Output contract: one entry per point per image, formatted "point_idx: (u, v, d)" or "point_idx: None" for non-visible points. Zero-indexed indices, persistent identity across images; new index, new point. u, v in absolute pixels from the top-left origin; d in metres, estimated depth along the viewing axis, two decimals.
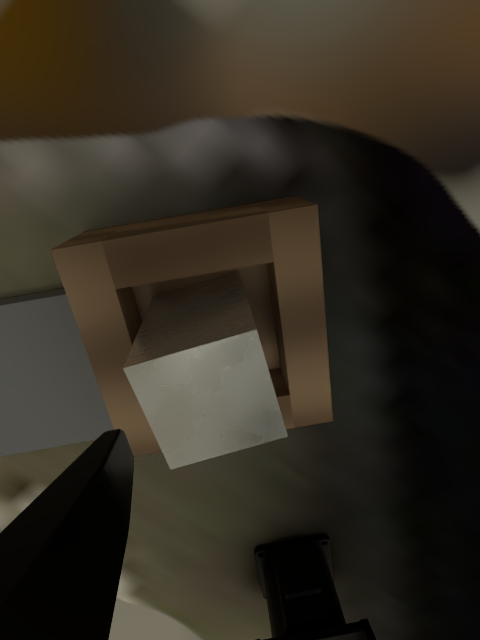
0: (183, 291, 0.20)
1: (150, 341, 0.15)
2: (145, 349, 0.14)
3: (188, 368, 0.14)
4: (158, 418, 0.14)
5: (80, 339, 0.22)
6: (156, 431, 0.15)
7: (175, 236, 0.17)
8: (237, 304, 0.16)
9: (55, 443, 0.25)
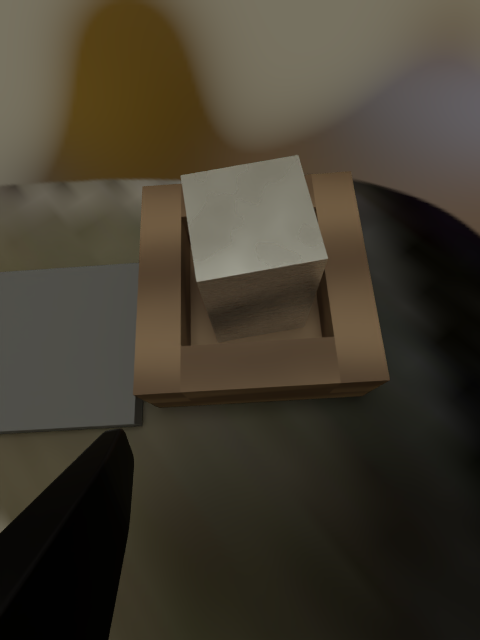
0: None
1: None
2: None
3: (235, 180, 0.15)
4: (198, 222, 0.15)
5: (129, 304, 0.23)
6: (193, 235, 0.15)
7: None
8: None
9: (54, 423, 0.21)
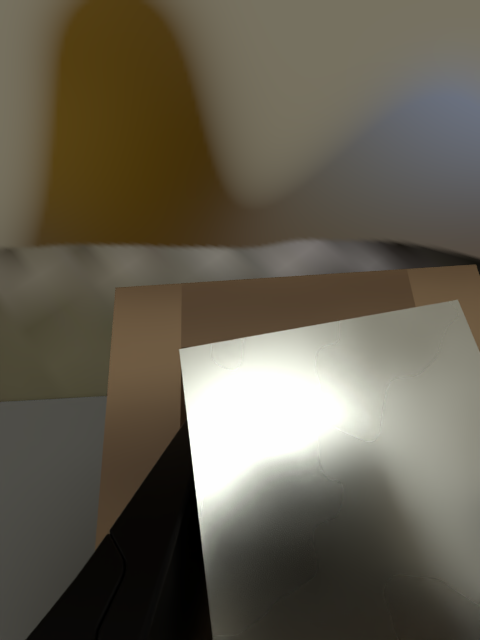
0: None
1: None
2: None
3: (314, 368, 0.06)
4: (224, 497, 0.06)
5: (95, 472, 0.14)
6: (211, 540, 0.05)
7: (279, 286, 0.12)
8: None
9: None
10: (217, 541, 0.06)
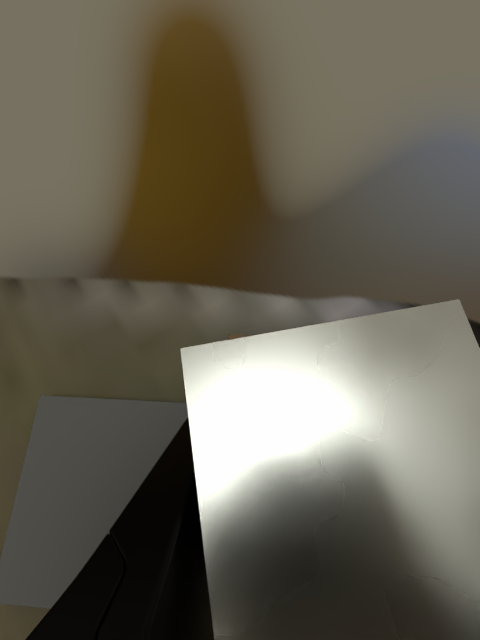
0: None
1: None
2: None
3: (315, 367, 0.06)
4: (225, 496, 0.06)
5: None
6: (212, 539, 0.05)
7: None
8: None
9: None
10: (218, 540, 0.06)
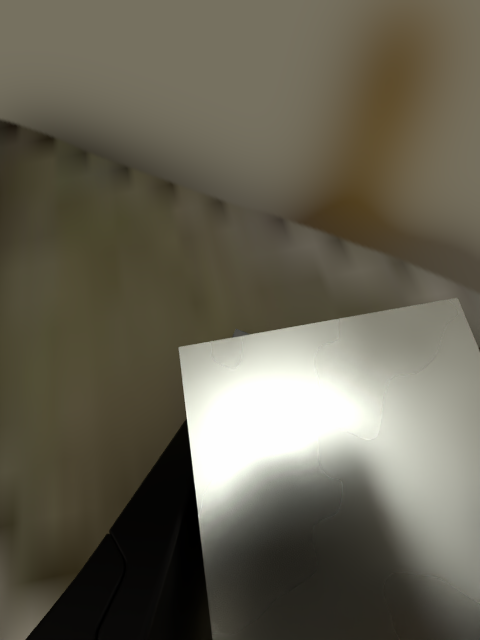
0: None
1: None
2: None
3: (313, 366, 0.06)
4: (224, 495, 0.06)
5: None
6: (210, 538, 0.05)
7: None
8: None
9: None
10: (216, 539, 0.06)
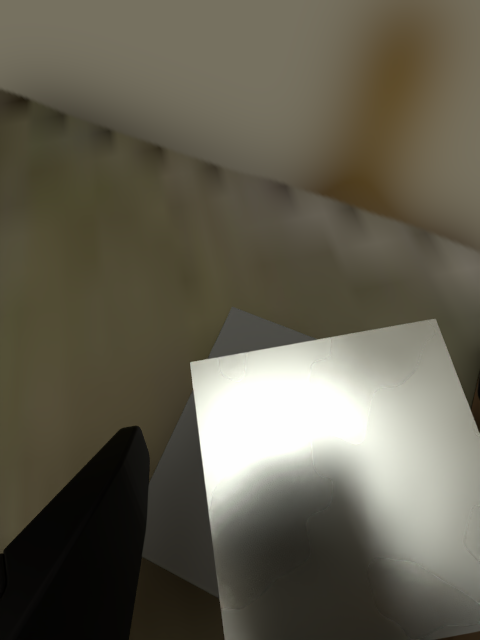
0: None
1: None
2: None
3: (308, 380, 0.07)
4: (230, 492, 0.07)
5: None
6: (219, 529, 0.06)
7: None
8: None
9: None
10: (224, 529, 0.06)
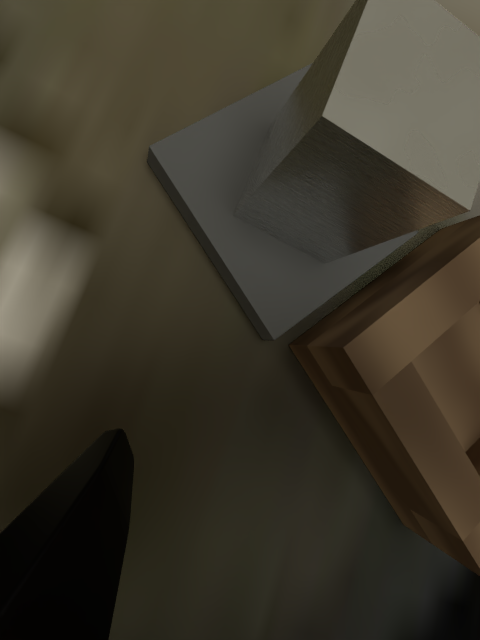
0: None
1: None
2: None
3: (438, 31, 0.10)
4: (368, 42, 0.10)
5: (375, 249, 0.19)
6: (353, 52, 0.10)
7: None
8: None
9: (225, 253, 0.17)
10: (355, 56, 0.10)
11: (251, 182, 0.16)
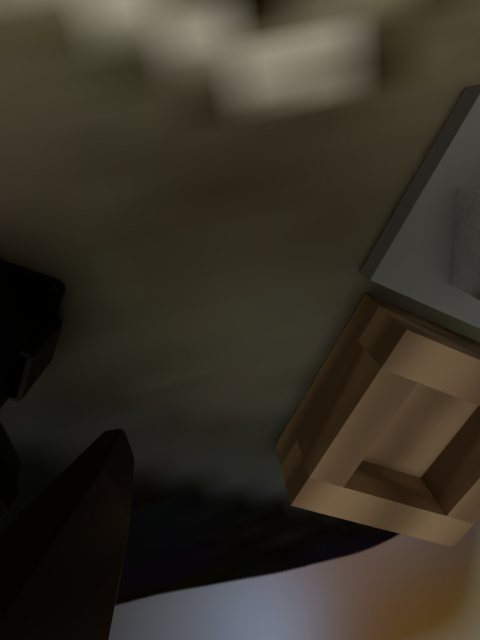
0: None
1: None
2: None
3: None
4: None
5: (478, 316, 0.22)
6: None
7: None
8: None
9: (421, 202, 0.19)
10: None
11: None
